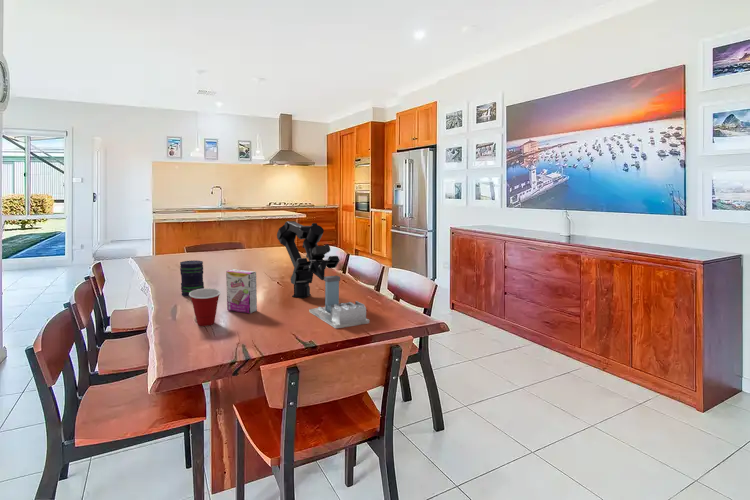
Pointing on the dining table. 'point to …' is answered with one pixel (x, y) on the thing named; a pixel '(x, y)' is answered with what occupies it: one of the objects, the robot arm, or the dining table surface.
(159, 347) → the dining table surface
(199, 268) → the storage jar
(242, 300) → the candy bar box
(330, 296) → the light blue bar
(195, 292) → the plastic cup
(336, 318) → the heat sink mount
